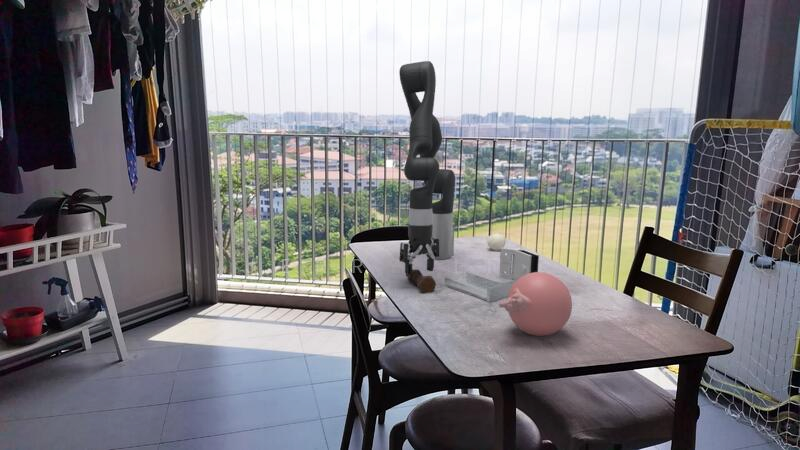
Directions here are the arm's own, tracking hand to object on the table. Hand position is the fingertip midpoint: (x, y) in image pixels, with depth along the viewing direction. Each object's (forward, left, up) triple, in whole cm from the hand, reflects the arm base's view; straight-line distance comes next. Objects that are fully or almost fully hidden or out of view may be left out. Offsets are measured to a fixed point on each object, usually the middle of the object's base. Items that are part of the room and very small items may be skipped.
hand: (419, 272), depth 167 cm
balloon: (+3, +46, -4) cm, 46 cm away
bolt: (0, 0, -5) cm, 5 cm away
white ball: (-54, -16, -4) cm, 56 cm away
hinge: (-29, +16, -4) cm, 33 cm away
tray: (-12, +14, -4) cm, 19 cm away
